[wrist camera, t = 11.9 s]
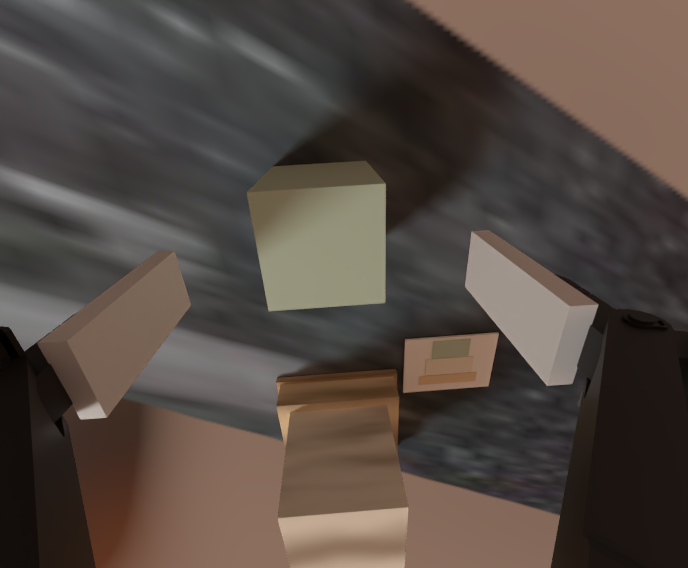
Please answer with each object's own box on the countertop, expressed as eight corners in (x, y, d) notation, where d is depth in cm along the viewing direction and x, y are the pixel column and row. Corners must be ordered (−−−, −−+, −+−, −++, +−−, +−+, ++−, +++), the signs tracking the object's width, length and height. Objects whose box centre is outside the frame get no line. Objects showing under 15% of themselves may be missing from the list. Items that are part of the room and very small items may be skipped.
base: (277, 377, 29) (272, 404, 27) (395, 368, 29) (402, 393, 27) (292, 455, 34) (289, 484, 31) (393, 446, 34) (399, 474, 32)
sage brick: (272, 166, 21) (246, 192, 14) (365, 160, 21) (385, 183, 14) (285, 253, 24) (268, 311, 17) (367, 247, 24) (385, 302, 17)
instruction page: (404, 339, 28) (405, 341, 28) (497, 332, 28) (499, 334, 28) (402, 391, 31) (403, 393, 30) (487, 384, 31) (488, 386, 31)
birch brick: (290, 412, 27) (277, 518, 20) (386, 404, 27) (408, 507, 20) (300, 473, 31) (293, 580, 24) (386, 466, 31) (404, 570, 24)
